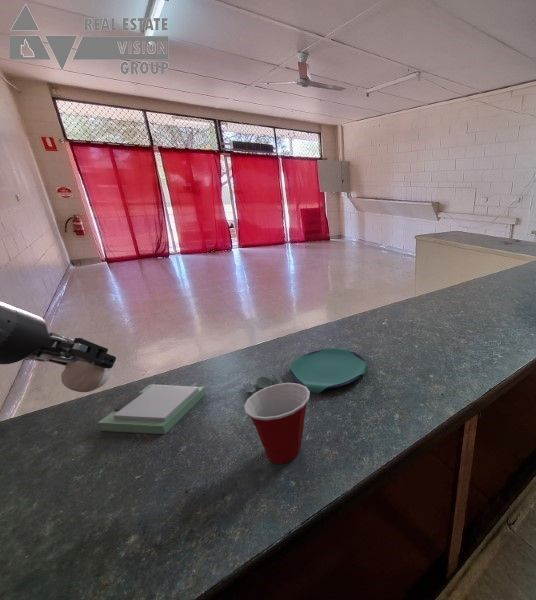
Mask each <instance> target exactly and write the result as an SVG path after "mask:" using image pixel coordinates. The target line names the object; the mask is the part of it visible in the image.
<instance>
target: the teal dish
mask: <svg viewBox="0 0 536 600" xmlns="http://www.w3.org/2000/svg"><path fill="white" fill-rule="evenodd" d="M368 368H369V365H368V363H367V362H366V360H365V358H363V357H362V356H361V354H358V353H356V352H354V351H352V350H349V348H345V347H344V348H343V347H327V348H323V349H319V350H315V351H311V352H309V353H306V354H303V355H301V356H298V357H297V358H296V359H294V361H293V362H292V363H291V364H290V366H289V367H288V369H289V375H290V378H291V379H292V380H293V381H294V382H295V383H297V384H301V385H303V386H305V387H307V389H308V390H309V391H310V393H312V394H315V395H319V394H321V393H322V392H323V391H324V390H330V389H338V388H341V387H343V386H347V385H350V384H352V383H353V382H355V381H358V380H359V379H360V378H361V377H362V376H363V375H366V373H367V371H368ZM271 375H272V377H273V378H274V379H275V380H276V382H277V384H282V383H284V382H283V380H282V379H281V378H280V376H279V375H278V374H276V373H271ZM255 382H256V387H258V388H260V390H262V389H264V388H266V387H269V386H272V385H273V383H272V379H270V378H269V377H268V376H267V377H266V376H260V377H258V378H257V379H256V381H255ZM242 385H243V387H244V389H245V392H246V395H248V396H250V397H251V396H252V395H253V394H254V393H256V392H258V391H257V388H256V387H254V385H253V384H252V383H251V382H250V381H248V382H245V383H243V384H242Z"/></svg>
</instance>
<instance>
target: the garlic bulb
mask: <svg viewBox="0 0 536 600" xmlns="http://www.w3.org/2000/svg"><path fill="white" fill-rule="evenodd" d="M110 376H111V368H110V369H108V368H103V367H99V366H96V365H93V364H91V365H90V364H87V363H83V362H78V361H77V362H74V363H67V365H66V366H64V369H63V371H62V372H61V374H60V378H61V383H62V384H63V386H64V387H65V388H67V389H69V390H71V391H72V392H73V391H74V392H77V393H90V392H93V391H95V390H98V389H100V388H101V387H102V386H104V385H105V384H106V383H107V382H108V381H109V379H110Z"/></svg>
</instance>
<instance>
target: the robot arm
mask: <svg viewBox="0 0 536 600" xmlns="http://www.w3.org/2000/svg"><path fill="white" fill-rule="evenodd" d="M108 352H109V349H108V348H107V347H104V346H102V345H99V344H96V343H94V342H92V341H89V340H87V339H84V338H82V337H75V338H74V339H73V338H69V337H66V336H64V335H63V334H60V333H56V332H51V331H50V332H49V330H48V325H47V322H46V320H45V319H44V318H42V317H41V316H40V315H37V314H34V313H32V312H30V311H29V312H28V311H27V310H24V309H22V308H18V307H16V306H13V305H11V304H8V303H5V302H3V301H0V365H12V364H16V363H18V362H21V361H23V360H26V361H35V362H41V363H45V362H49V363H54V364H57V365H61V366H64V367H66V365H67V363H74V362H77V361H78V362H83V363H87V364H90V365H91V364H93V365H96V366H99V367H103V368H108V369H110V370H111V369H112V368H113V367H114V365H115V362H116V360H117V357H116V356H115V355H112V354H110V353H108Z"/></svg>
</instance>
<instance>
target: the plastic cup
mask: <svg viewBox="0 0 536 600" xmlns="http://www.w3.org/2000/svg"><path fill="white" fill-rule="evenodd" d="M310 395H311V392H310V391H309V390H308V389H307V387H305V386H303V385H301V384H298V383H297V382H295V383H294V382H283V383H282V384H279V383H276V384H272V385H271V386H269V387H266V388H264V389H260V390H258V391H257V392H256V393H254V394H253V395H252V396H251V395H250V397H248V398H247V400H246V401H245V404H244V406H243V408H244V411H245V413H246V416H248V417H249V418H250V419H251V421H252V422H253V425H254V426H255V430H256V431H257V435H258V437H259V439H260V442H261V444H262V447H263V448H264V451H265V454H266V457H267V459H268V460H269V461H270V462H271V463H272V464H276V465H277V464H278V465H281V464H286V463H289V462H292V461H293V460H294V459H295V458H297V457H298V455H299V454H300V452H301V448H302V441H303V440H302V439H303V435H304V434H303V432H304V425H305V416H306V411H307V405H308V402H309V400H310Z"/></svg>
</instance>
